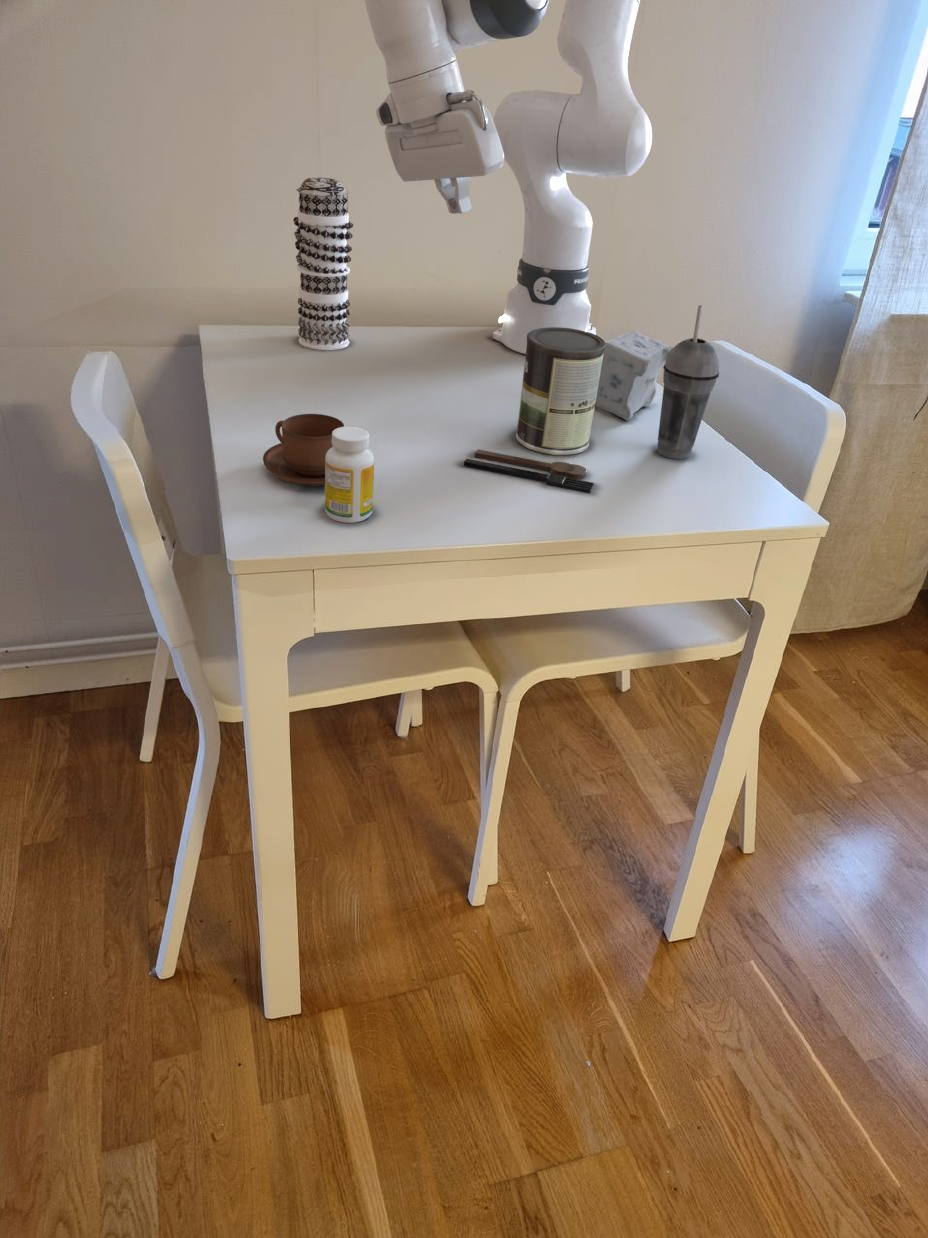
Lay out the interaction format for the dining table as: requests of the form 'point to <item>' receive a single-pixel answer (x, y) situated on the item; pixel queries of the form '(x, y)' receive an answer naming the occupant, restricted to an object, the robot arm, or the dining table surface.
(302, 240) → the decorative candle
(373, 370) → the dining table surface
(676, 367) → the beverage cup
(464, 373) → the dining table surface
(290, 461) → the cup and saucer
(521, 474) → the fork
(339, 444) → the supplement bottle
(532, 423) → the coffee can
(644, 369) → the incense holder
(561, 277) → the robot arm
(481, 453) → the spoon
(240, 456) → the dining table surface
